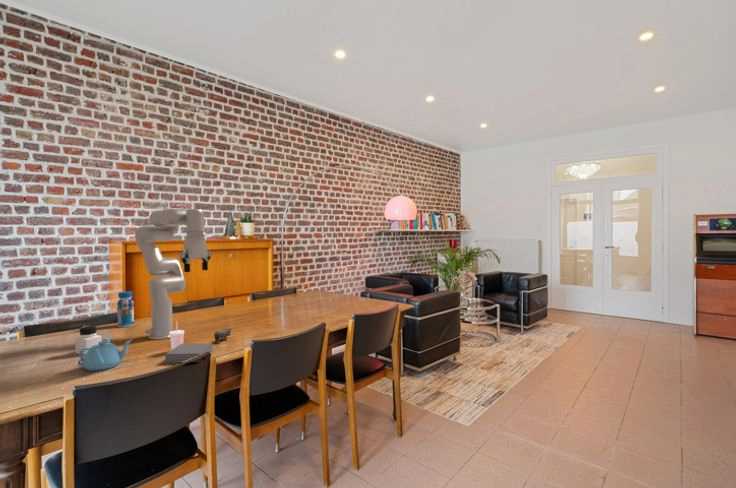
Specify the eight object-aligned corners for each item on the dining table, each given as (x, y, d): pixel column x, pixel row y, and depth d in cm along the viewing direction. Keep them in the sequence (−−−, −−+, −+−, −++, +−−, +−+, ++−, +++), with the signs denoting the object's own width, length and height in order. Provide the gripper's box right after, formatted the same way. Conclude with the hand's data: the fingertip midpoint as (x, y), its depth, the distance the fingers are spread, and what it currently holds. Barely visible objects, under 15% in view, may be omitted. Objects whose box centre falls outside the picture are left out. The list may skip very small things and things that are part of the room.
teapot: (71, 370, 145) (71, 344, 145) (110, 357, 159) (110, 334, 159) (95, 375, 140) (94, 348, 139) (133, 362, 154) (133, 338, 153)
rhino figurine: (235, 336, 192) (234, 325, 191) (219, 344, 178) (219, 332, 178) (227, 336, 192) (227, 324, 192) (211, 344, 179) (211, 331, 179)
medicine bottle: (102, 350, 169) (101, 325, 169) (86, 355, 162) (85, 328, 162) (91, 349, 171) (90, 323, 171) (75, 353, 165) (74, 327, 164)
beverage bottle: (113, 327, 212) (112, 293, 211) (125, 323, 220) (124, 290, 220) (126, 327, 211) (125, 293, 210) (137, 324, 219) (137, 291, 218)
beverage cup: (166, 352, 166) (166, 321, 166) (178, 348, 172) (177, 318, 172) (176, 353, 164) (175, 323, 164) (187, 349, 170) (187, 320, 169)
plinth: (165, 363, 152) (165, 353, 152) (181, 352, 166) (181, 343, 166) (199, 362, 152) (199, 353, 152) (212, 352, 166) (212, 343, 166)
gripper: (205, 235, 182) (206, 269, 182) (173, 235, 167) (174, 272, 167) (216, 235, 179) (216, 269, 179) (184, 235, 163) (185, 273, 164)
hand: (196, 271), depth 173 cm, fingers open, 9 cm apart
